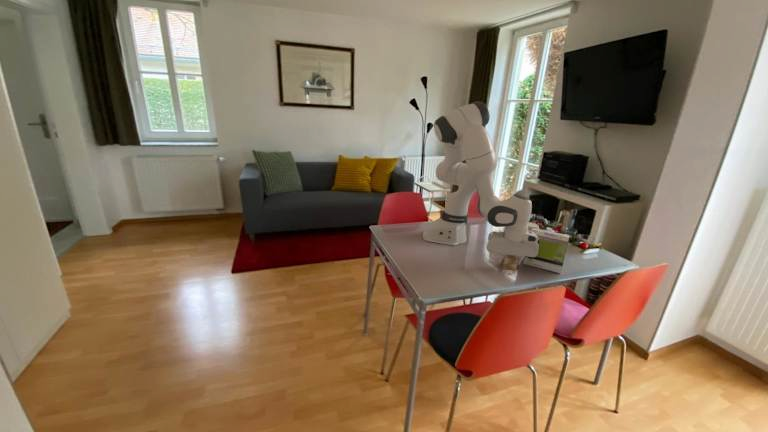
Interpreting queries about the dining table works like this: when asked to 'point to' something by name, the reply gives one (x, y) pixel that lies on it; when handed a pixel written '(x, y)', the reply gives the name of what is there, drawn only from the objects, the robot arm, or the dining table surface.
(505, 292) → the dining table surface
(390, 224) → the dining table surface
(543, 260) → the tea box
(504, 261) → the oak block
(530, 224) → the coffee cup
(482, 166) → the robot arm
